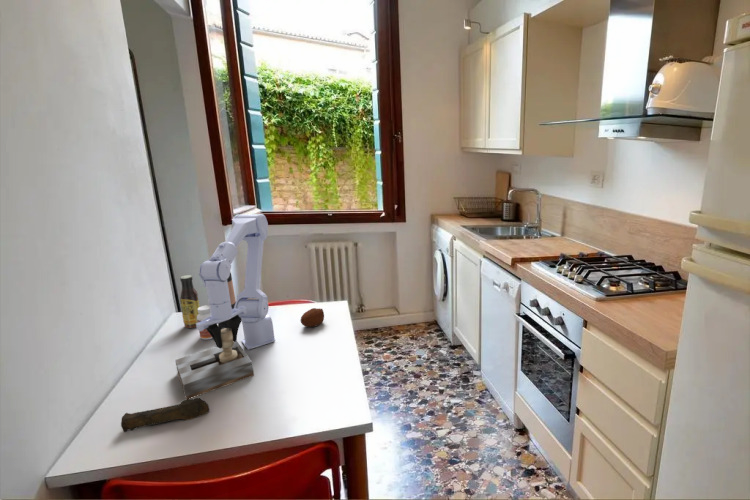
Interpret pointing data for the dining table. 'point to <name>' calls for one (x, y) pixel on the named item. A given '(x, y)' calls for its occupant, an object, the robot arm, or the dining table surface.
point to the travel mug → (232, 299)
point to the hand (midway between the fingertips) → (226, 343)
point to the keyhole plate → (212, 370)
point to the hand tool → (165, 414)
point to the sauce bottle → (189, 302)
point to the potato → (312, 317)
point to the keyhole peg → (227, 346)
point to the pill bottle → (203, 314)
